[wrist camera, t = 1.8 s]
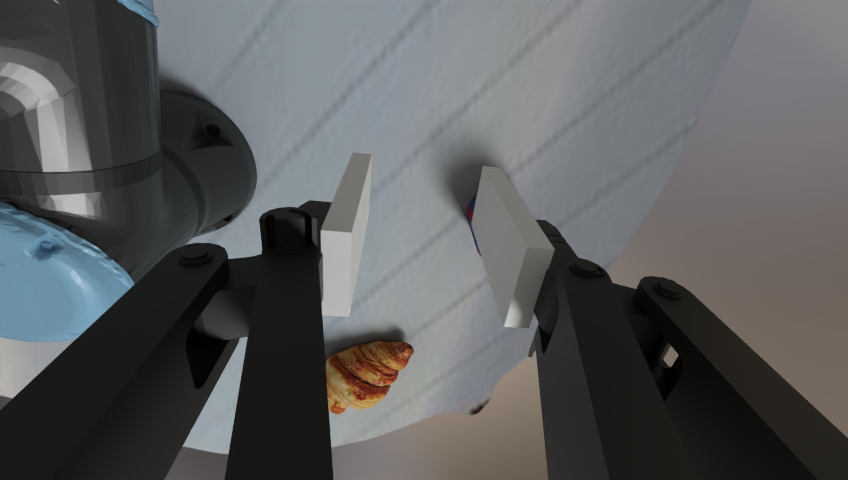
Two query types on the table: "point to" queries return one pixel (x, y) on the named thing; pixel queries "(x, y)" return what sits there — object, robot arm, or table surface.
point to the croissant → (364, 373)
